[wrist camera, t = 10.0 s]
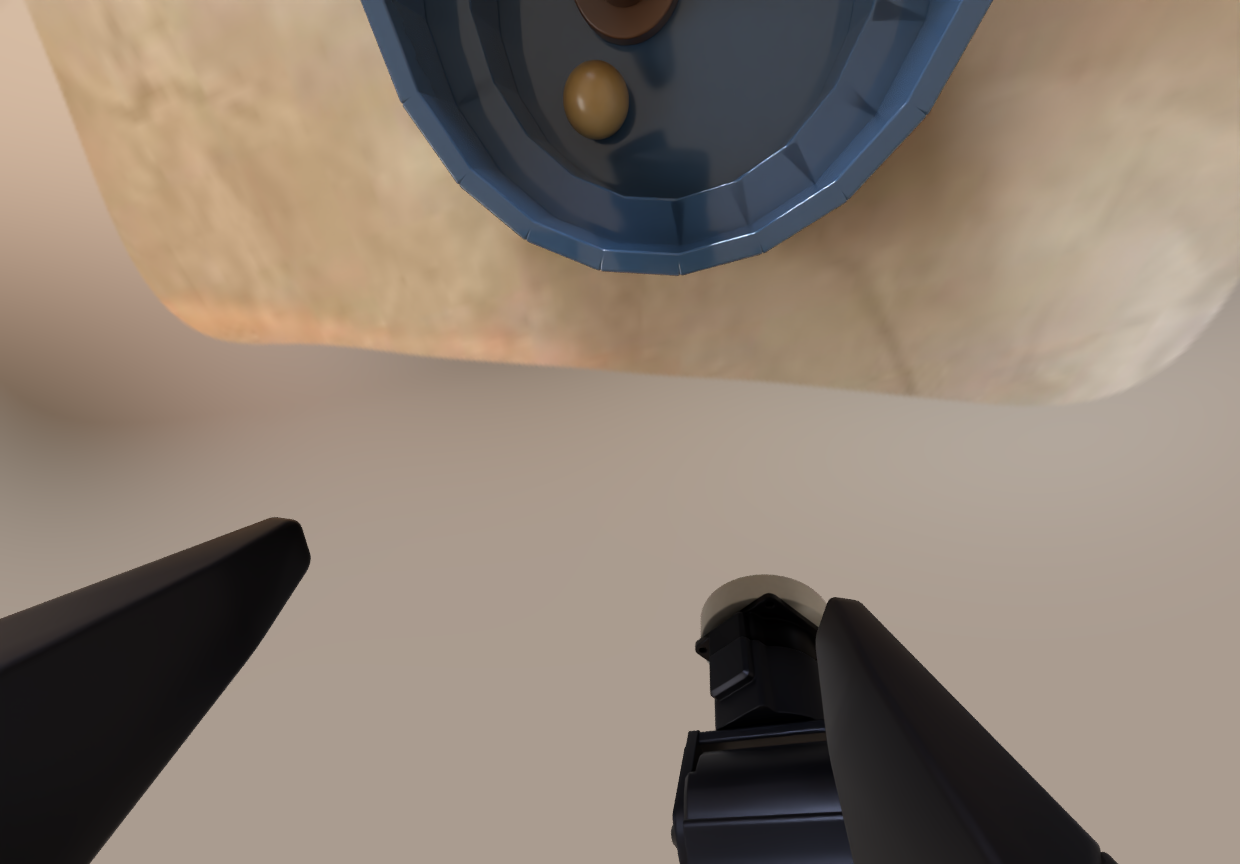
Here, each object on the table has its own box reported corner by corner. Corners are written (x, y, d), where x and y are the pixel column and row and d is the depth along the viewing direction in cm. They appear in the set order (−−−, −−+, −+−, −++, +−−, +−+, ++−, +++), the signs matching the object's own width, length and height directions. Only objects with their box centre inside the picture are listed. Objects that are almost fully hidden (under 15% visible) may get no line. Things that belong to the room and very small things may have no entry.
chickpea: (645, 98, 15) (638, 86, 13) (607, 156, 16) (596, 152, 14) (595, 52, 15) (581, 33, 13) (559, 113, 16) (542, 104, 14)
